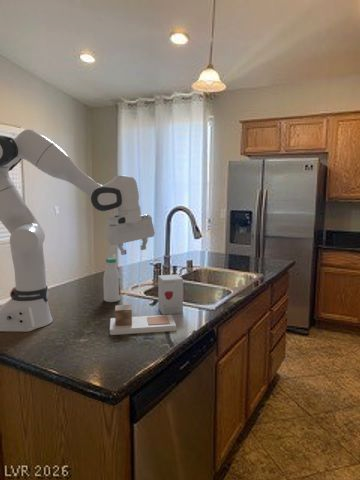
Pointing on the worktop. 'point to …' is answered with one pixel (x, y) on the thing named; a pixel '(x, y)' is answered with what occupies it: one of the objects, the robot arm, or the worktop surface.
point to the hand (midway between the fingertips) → (133, 252)
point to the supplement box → (170, 294)
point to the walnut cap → (123, 315)
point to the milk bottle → (111, 281)
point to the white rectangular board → (141, 326)
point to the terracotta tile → (158, 320)
